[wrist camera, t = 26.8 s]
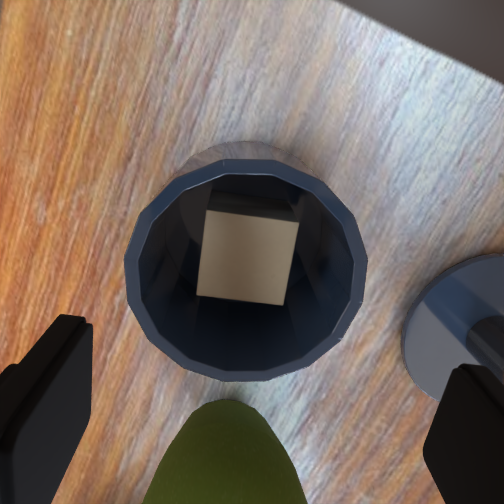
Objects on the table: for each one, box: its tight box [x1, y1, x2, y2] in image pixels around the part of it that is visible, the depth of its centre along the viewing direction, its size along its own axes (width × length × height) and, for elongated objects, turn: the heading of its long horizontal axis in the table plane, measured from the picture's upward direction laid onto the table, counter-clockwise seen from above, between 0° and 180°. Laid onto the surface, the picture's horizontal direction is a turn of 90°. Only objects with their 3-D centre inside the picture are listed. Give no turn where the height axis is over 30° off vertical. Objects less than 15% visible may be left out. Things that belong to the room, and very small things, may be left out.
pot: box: [124, 141, 368, 382], centre depth 21 cm, size 10×10×8 cm
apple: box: [142, 399, 308, 504], centre depth 24 cm, size 9×8×12 cm
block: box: [196, 191, 299, 305], centre depth 22 cm, size 4×4×4 cm
